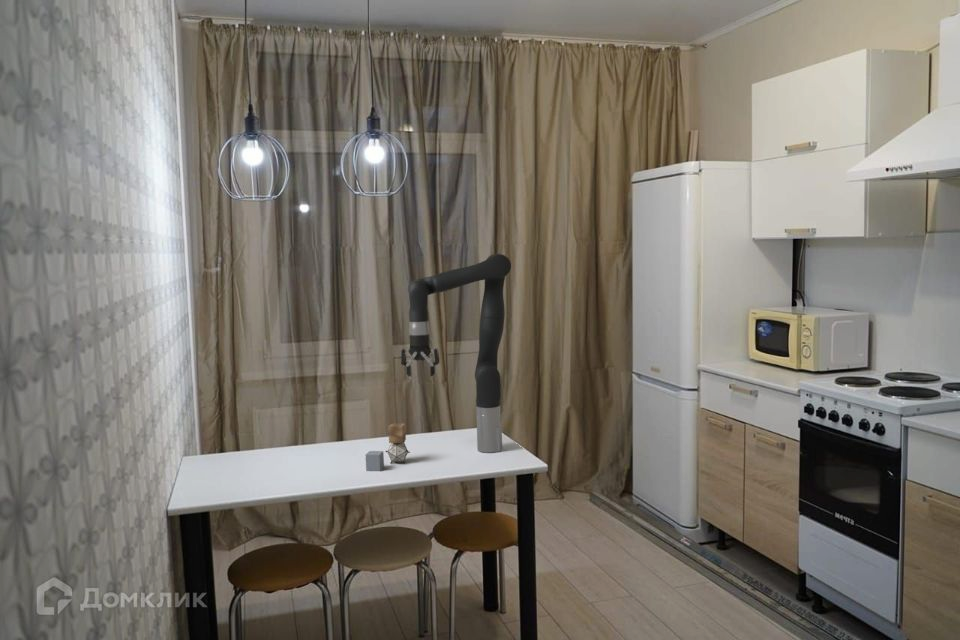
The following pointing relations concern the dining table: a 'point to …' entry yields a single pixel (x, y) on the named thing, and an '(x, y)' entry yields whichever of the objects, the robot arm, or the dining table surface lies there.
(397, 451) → the game die
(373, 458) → the slate block
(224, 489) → the dining table surface
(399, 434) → the walnut block
